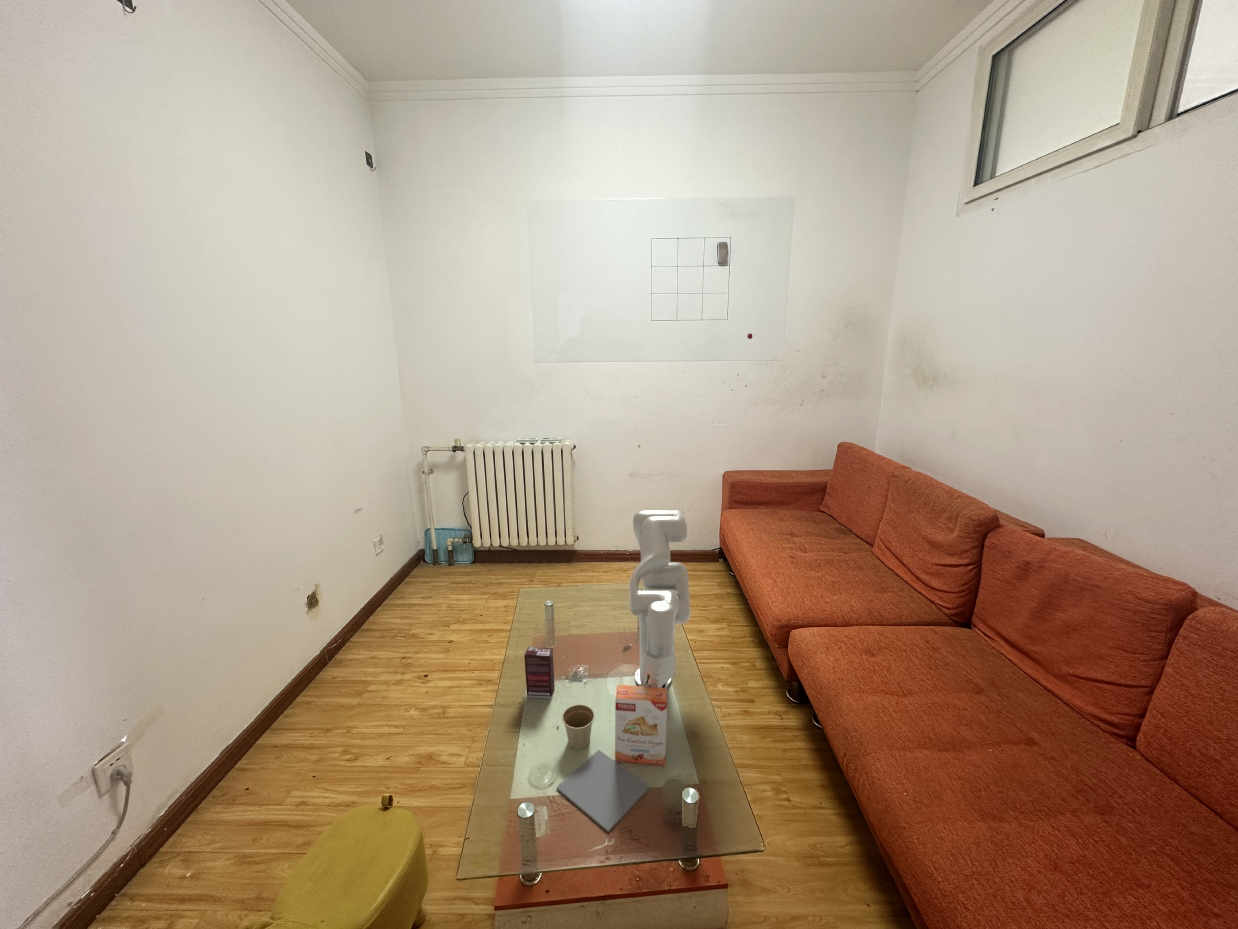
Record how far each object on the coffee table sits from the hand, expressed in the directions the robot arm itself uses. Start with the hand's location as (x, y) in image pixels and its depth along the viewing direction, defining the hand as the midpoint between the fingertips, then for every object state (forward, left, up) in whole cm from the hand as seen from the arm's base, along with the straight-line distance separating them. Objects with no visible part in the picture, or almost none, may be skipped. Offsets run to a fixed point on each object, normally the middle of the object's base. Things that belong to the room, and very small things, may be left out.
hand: (659, 702), depth 140 cm
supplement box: (+10, -41, -13) cm, 44 cm away
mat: (+23, -1, -12) cm, 26 cm away
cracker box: (+8, 0, -13) cm, 15 cm away
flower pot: (+16, -17, -13) cm, 27 cm away
